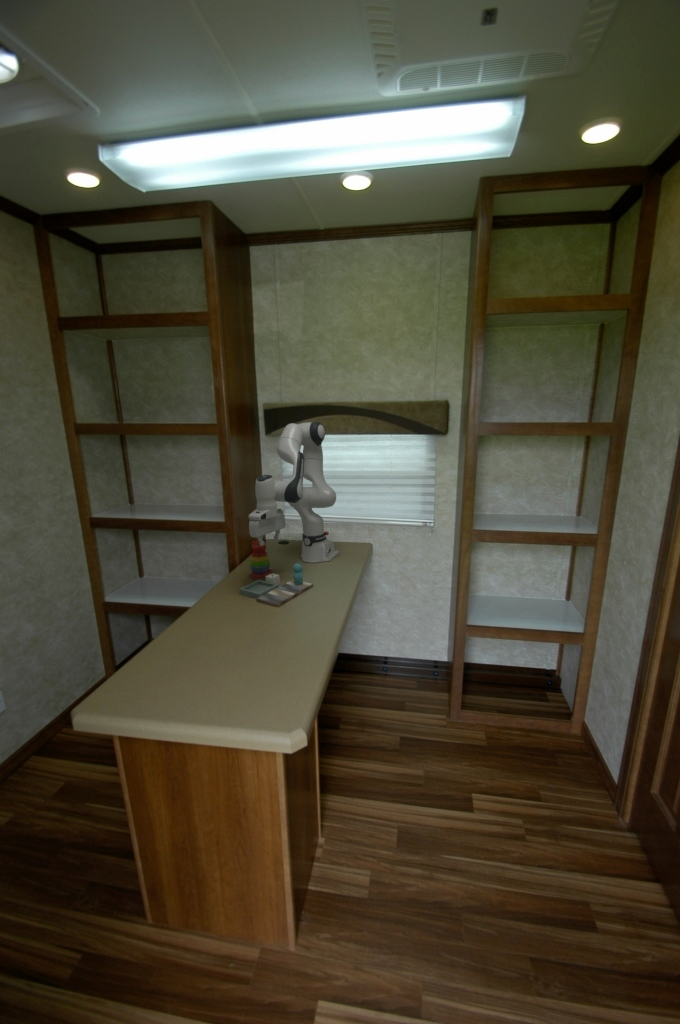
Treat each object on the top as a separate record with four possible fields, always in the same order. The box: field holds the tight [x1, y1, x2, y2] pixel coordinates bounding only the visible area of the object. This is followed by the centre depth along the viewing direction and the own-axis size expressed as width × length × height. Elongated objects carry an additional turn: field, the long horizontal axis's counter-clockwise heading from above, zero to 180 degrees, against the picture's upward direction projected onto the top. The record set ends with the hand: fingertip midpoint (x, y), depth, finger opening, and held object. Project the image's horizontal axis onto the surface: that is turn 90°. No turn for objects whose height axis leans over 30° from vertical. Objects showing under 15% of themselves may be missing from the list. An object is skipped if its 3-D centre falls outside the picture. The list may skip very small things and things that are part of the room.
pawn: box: [292, 563, 304, 585], centre depth 192 cm, size 4×4×10 cm
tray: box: [238, 579, 279, 600], centre depth 189 cm, size 12×12×2 cm
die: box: [264, 573, 281, 586], centre depth 196 cm, size 4×4×5 cm
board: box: [255, 578, 314, 608], centre depth 186 cm, size 24×12×1 cm, turn 147°
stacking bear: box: [249, 540, 275, 580], centre depth 207 cm, size 11×10×18 cm
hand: (269, 542), depth 192 cm, fingers open, 8 cm apart
